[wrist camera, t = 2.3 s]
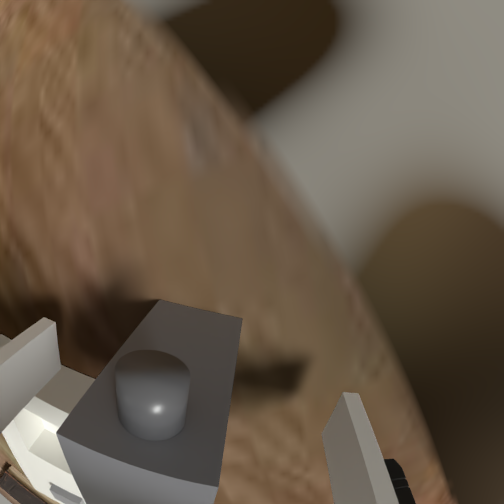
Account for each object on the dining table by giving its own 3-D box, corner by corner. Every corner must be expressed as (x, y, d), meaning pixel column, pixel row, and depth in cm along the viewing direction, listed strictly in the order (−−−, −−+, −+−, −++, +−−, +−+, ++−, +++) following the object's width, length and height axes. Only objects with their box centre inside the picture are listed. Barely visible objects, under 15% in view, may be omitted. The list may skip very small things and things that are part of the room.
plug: (153, 379, 15) (89, 510, 6) (163, 267, 13) (42, 385, 4) (224, 397, 15) (200, 544, 6) (249, 286, 13) (230, 448, 5)
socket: (47, 468, 19) (32, 494, 15) (1, 333, 15) (-36, 360, 11) (141, 509, 19) (131, 540, 15) (129, 391, 15) (101, 440, 11)
